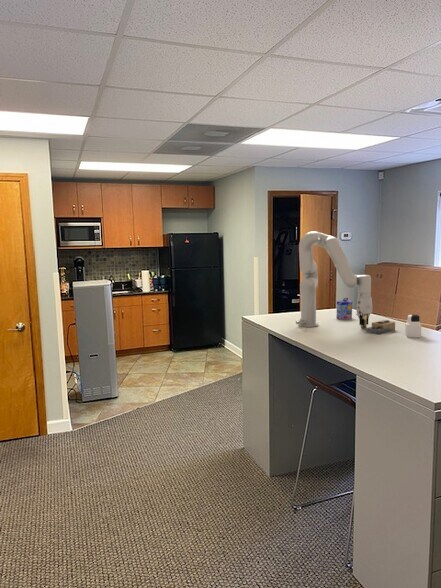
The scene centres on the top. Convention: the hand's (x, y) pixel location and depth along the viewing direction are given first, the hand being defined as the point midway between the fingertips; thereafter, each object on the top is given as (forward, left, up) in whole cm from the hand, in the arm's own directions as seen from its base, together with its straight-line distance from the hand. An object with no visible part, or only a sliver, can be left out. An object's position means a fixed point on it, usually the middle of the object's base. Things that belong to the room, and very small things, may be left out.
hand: (363, 324), depth 260 cm
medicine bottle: (+2, -31, -2) cm, 31 cm away
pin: (0, 0, -2) cm, 2 cm away
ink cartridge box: (+16, +28, -3) cm, 32 cm away
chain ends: (0, -12, -2) cm, 12 cm away
